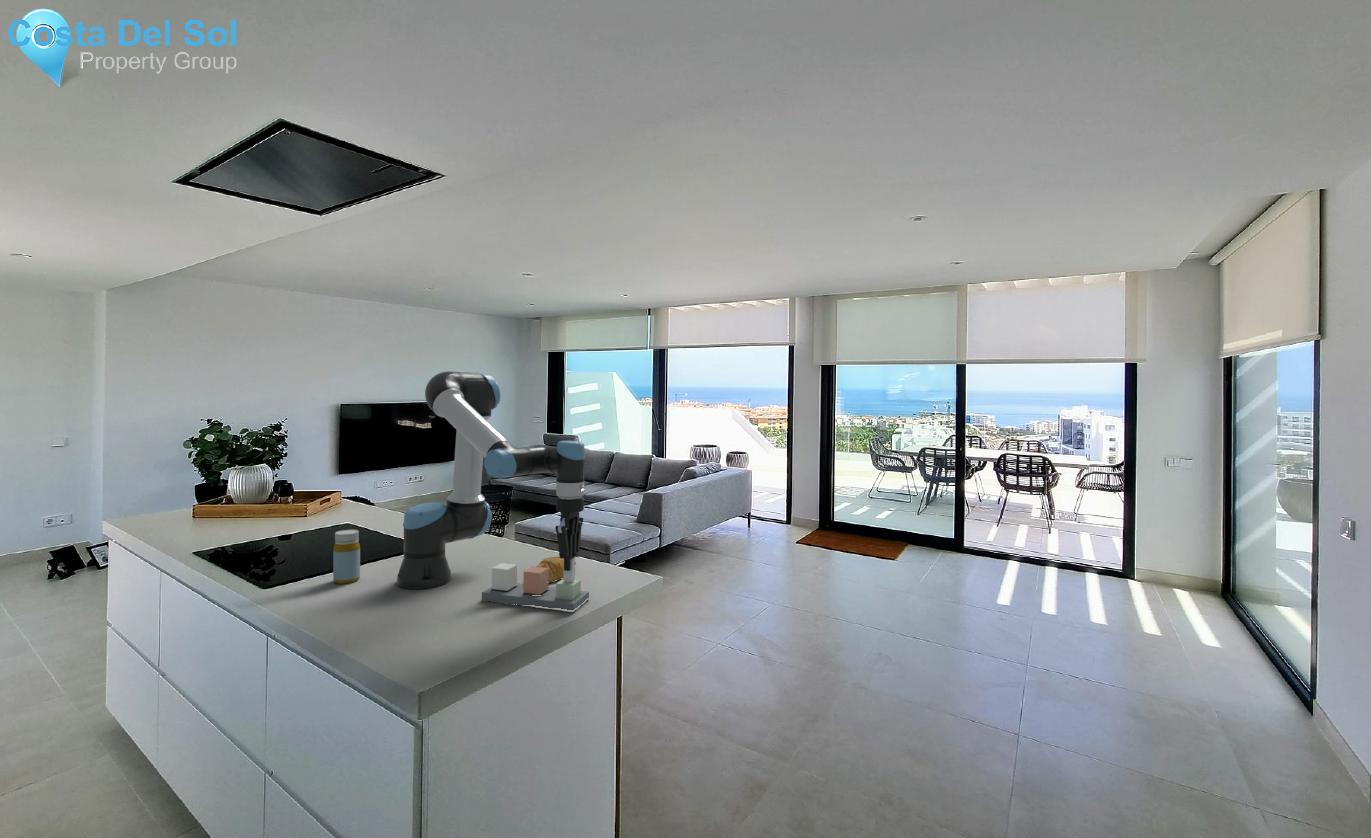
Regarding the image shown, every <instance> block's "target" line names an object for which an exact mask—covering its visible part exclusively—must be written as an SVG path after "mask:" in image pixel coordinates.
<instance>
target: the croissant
mask: <svg viewBox="0 0 1371 838" xmlns="http://www.w3.org/2000/svg"><path fill="white" fill-rule="evenodd" d="M575 565H576V561H575ZM535 567H542V568H549V571H548V582H551V583H553V582H552V581H555V580H558V581H560V580H559V579H561V578H563V571H564V559H562V558H560V557H559V556H550V557H547V558H544V559H542V560H541V561H540V562H539V564H537V565H536V566H535ZM561 580H562V579H561Z"/></svg>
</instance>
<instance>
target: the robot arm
mask: <svg viewBox="0 0 1371 838" xmlns="http://www.w3.org/2000/svg"><path fill="white" fill-rule="evenodd" d="M424 397H425V402H426V403H427V406H428V408H430V410H431V411H432V412H433V413H434V414H435V415H436V416H438V417H440V418H445V420H446V421H448V423H449V424H450V425H452V427H453V428H454V429H456V432H455V433H456V435H455V447H454V462H453V463H454V465H453V477H452V478H453V479H452V492H451V493H450V494H448V496H447V497H446V503H444V502H440V501H438V502H436V501H434V502H424V503H421V504H416V505H414V506H411V507H409V508H408V509H406V511H405V513H404V516H403V522H402V523H403V524H402V527H403V559H402V561H401V565H400V567H399V570H398V573H397V575H396V585H397V586H398V587H400V588H403V589H408V590H409V589H410V590H422V589H425V590H426V589H431V588H435V587H439V586H443V585H445V584H448V583H449V582H450V581H451V580H452V570H451V569H450V566H449V565H450V564H449V563H448V559H447V556H446V544H449V543H453V542H458V541H463V540H469V539H474V538H476V537H480V536H483V534H484V533H486V532H487V531H488V529H489V528H490V526H491V523H492V517H493V515H492V509H491V506H490V504H489V503H488V502H487V501H486V497H485V496H484V495H483V494H482V493H481V492H482V478H483V465H484V468H485V469H486V473H487V474H488V476H490V477H491V478H495V479H499V478H502V479H505V478H511V477H518V476H519V477H520V476H525V475H533V474H543V473H544V474H545V473H548V474H555V475H556V485H555V486H556V489H555V490H556V493H555V495H556V496H557V498H556V500H555V501H556V503H555V507H556V508H555V511H557V512H558V513H560V517H559V518H560V519H559V525H555V528H554V529H555V532H556V537H557V546H558V547H557V548H558V554H559V555H558V557H560V558H562V559H564V571H563V581H565V582H573V581H575V579H576V578H575V577H576V564H575V562H576V558H579V557H580V556H579V555H580V554H579V552H580V545H581V536H582V528H583V527H582V526H583V523H584V517H580V512H583V511H584V510H585V509H584V508H585V498H584V495H585V489H586V486H585V463H586V462H585V461H586V454H585V453H586V452H585V444H584V443H583V442H582V441H580V440H560V441H558V442H557V443H556V446H550V445H544V444H536V445H533V444H532V445H531V446H529V447H528V446H527V447H515V446H514V445H513V444H512V443H510V442H509V440H507V439H506V438H505V437H504V436H503V435H502V434H501V433H500V432H499V431H498V430H497V429H495V427H493V425H491V424H490V422H488V420H489V419H490V418H491V417H492V410H494V409H496V408H497V407H498V405H499V404H500V401H501V388H500V386H499V384H498V382H497V381H496V378H494V377H493V376H492V375H490V374H487V373H480V372H468V371H467V372H466V371H464V372H463V371H462V372H461V371H449V370H448V371H443V372H440V373H437V374H435V375H434V376H433V377H431V378H430V380H429V381H428V383H427V384H426V386H425V390H424Z"/></svg>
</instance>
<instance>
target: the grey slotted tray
mask: <svg viewBox="0 0 1371 838" xmlns="http://www.w3.org/2000/svg"><path fill="white" fill-rule="evenodd" d="M523 584H524V583H520V582H517V585H516V586H515V587H513V588H511V589H510V590H508V591H505V590H497V589H492V586H490V587H489V588H487V589H486V590H483V591H482V592H481V602H485V601H491V602H490V603H493V602H498V603H497V604H500V603H507V604H506V605H508V604H515V605H514V606H516V604H517V605H535V606H542V607H548V608H561V609H567V610H574V609H575V608H577V607H578V606H579V605H581V604H582V603H583V602H584V601H585V600H586V599H587V598H589V599H590V591H586V590H581V591H580V596H578V597H577V598H576V599H575V600H573V601H572V600H564V599H556V587H552V586H548V589H547V590H546V591H544V592H543V593H541V594H540V595H541V596H532V595H538V594H530V593H523Z"/></svg>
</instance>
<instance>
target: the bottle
mask: <svg viewBox="0 0 1371 838" xmlns="http://www.w3.org/2000/svg"><path fill="white" fill-rule="evenodd" d="M359 533H360V532H359V530H357V529H343V530H338V531H336V532H335V533H334V547H333V551H332V552H333V554H332V555H333V556H332V558H333V559H332V561H333V564H332V565H333V571H332V574H333V576H332V577H333V583H336V584H337V585H347V584H352V583H356V582H357V581H358V580H360V578H361V545H360V543H359V540H360V539H359V538H360V537H359Z"/></svg>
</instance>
